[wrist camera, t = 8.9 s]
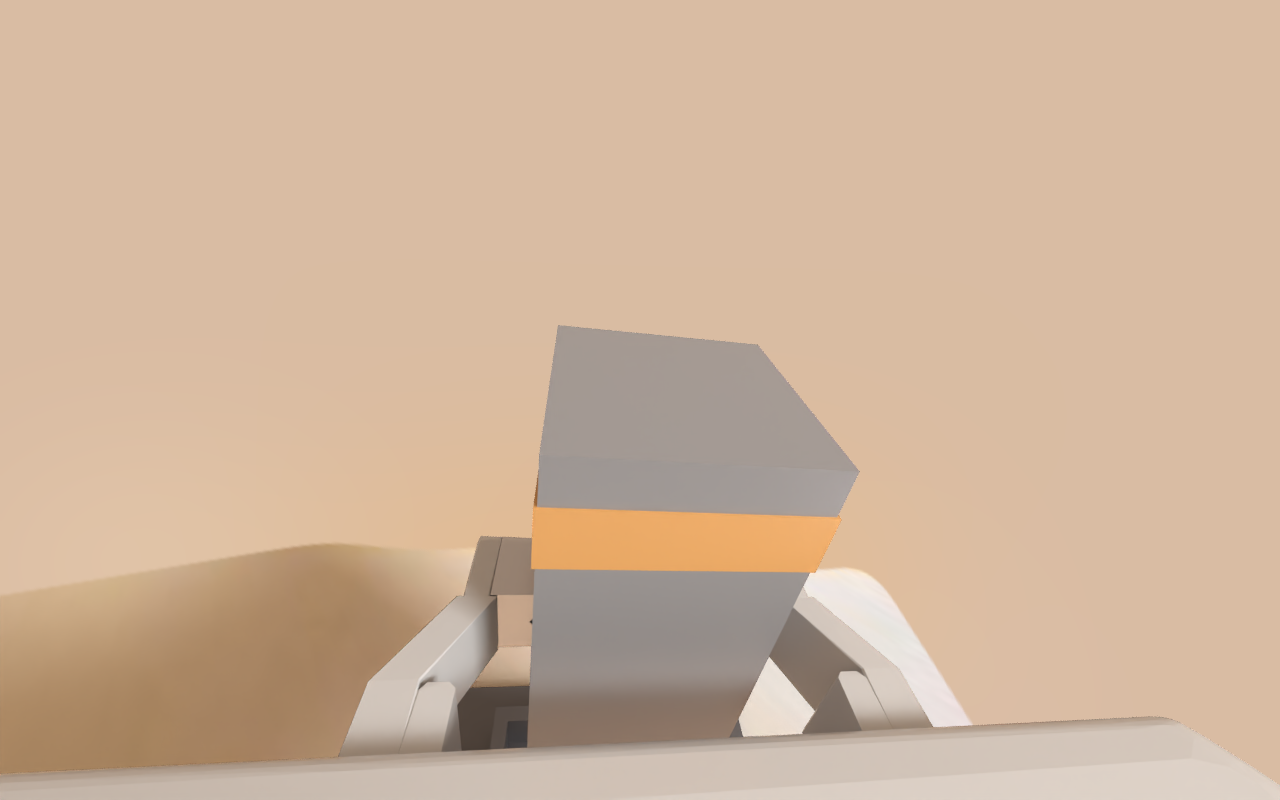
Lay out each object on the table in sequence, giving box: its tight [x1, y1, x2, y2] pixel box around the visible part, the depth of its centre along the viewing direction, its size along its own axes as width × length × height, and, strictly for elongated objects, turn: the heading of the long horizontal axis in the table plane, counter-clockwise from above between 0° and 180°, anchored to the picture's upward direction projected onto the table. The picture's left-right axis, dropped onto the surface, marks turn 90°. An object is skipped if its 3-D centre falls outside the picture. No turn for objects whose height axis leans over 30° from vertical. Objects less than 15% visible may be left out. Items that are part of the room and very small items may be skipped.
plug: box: [527, 325, 860, 748], centre depth 11 cm, size 5×5×12 cm
